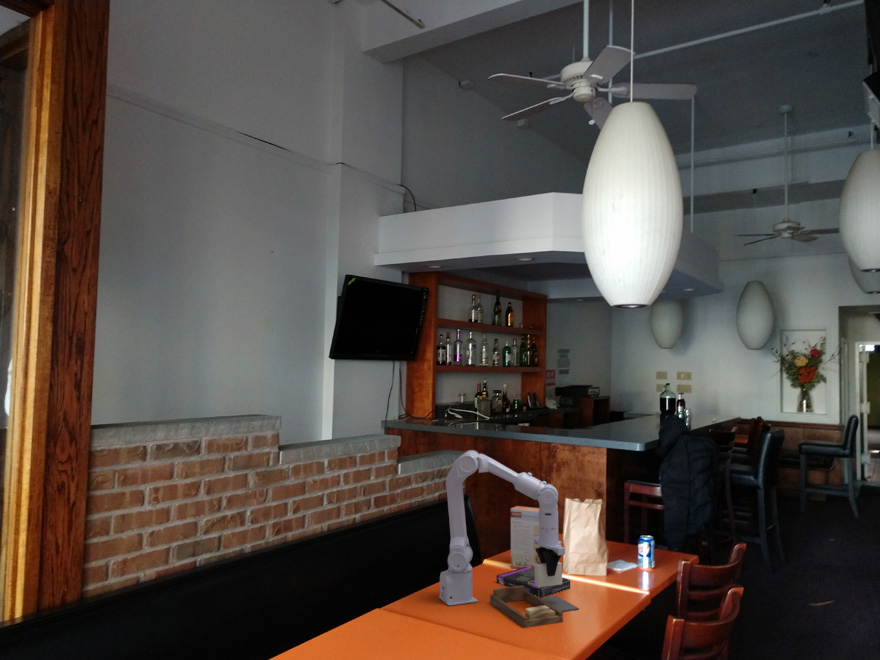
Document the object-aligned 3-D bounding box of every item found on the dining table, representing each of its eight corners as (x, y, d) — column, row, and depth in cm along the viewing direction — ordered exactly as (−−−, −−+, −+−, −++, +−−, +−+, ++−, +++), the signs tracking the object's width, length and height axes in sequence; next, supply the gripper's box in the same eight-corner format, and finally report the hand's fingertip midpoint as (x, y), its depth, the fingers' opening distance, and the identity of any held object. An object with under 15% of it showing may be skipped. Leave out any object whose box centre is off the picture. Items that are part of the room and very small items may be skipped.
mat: (551, 613, 189) (551, 612, 189) (530, 600, 200) (530, 599, 201) (578, 609, 193) (578, 608, 193) (556, 596, 204) (556, 595, 204)
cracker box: (554, 570, 231) (554, 509, 233) (547, 575, 226) (547, 512, 228) (517, 564, 239) (517, 504, 240) (510, 568, 234) (510, 507, 235)
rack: (524, 627, 179) (524, 612, 179) (490, 603, 198) (490, 589, 198) (562, 621, 183) (562, 606, 183) (525, 598, 202) (525, 584, 202)
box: (496, 585, 218) (541, 599, 203) (495, 574, 218) (541, 588, 203) (525, 576, 227) (571, 589, 212) (525, 566, 227) (570, 578, 212)
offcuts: (527, 625, 180) (527, 611, 180) (522, 622, 183) (522, 608, 183) (556, 621, 183) (556, 607, 184) (551, 618, 186) (551, 604, 186)
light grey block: (538, 587, 194) (538, 566, 194) (534, 585, 195) (534, 564, 196) (562, 584, 197) (562, 563, 197) (558, 582, 198) (558, 561, 199)
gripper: (573, 531, 192) (574, 579, 191) (547, 521, 205) (548, 566, 204) (552, 533, 189) (552, 582, 188) (527, 523, 203) (527, 568, 202)
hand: (549, 574), depth 196 cm, fingers closed on light grey block, 2 cm apart
